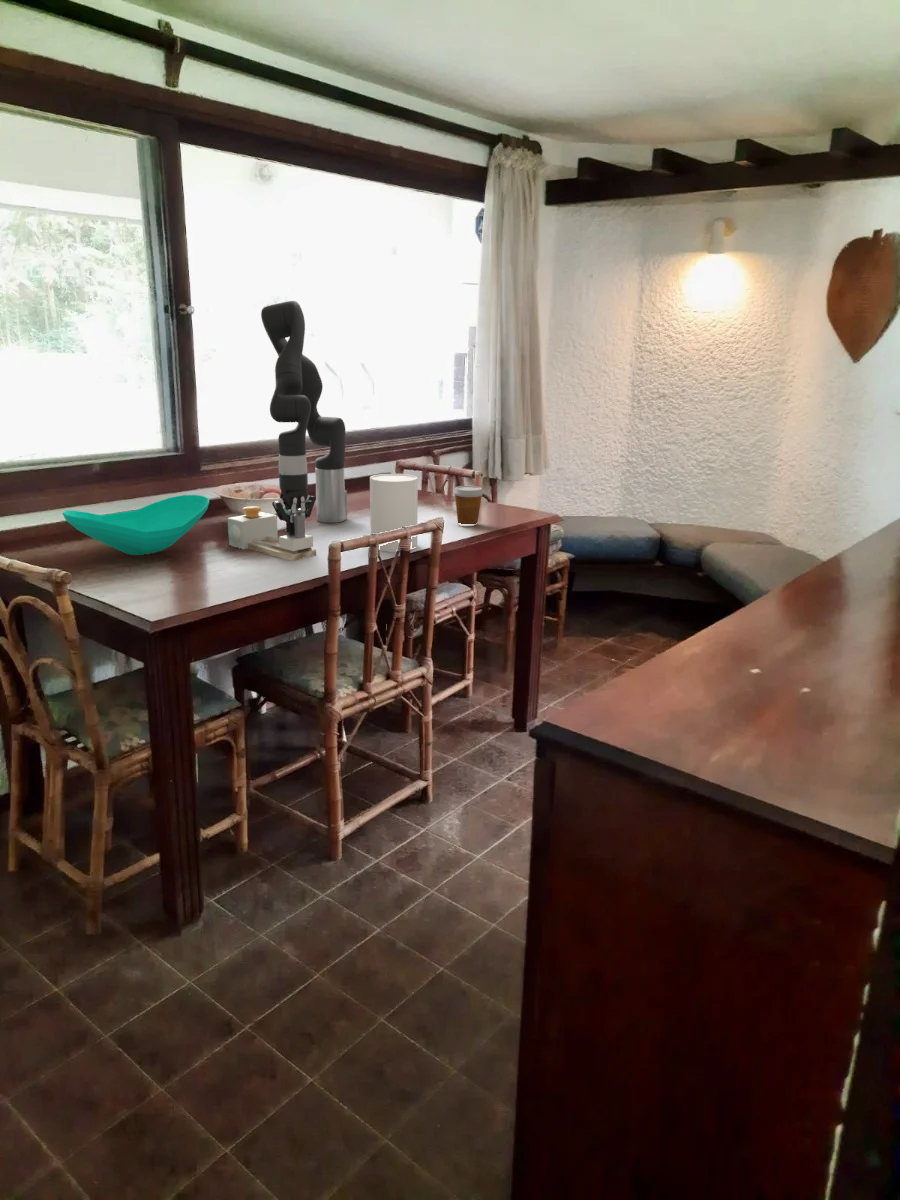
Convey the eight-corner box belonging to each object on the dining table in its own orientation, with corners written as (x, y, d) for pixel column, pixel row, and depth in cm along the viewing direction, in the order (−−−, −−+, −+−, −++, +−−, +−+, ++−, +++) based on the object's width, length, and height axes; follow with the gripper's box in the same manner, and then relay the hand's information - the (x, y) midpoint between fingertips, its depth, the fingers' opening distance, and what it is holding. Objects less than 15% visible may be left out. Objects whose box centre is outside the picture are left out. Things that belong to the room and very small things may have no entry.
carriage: (299, 543, 233) (298, 511, 230) (313, 546, 229) (312, 514, 227) (279, 547, 228) (277, 515, 225) (293, 551, 224) (291, 518, 222)
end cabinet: (263, 538, 248) (261, 511, 246) (278, 542, 244) (276, 515, 241) (228, 545, 239) (226, 518, 237) (242, 549, 235) (240, 522, 232)
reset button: (254, 517, 243) (253, 505, 242) (264, 520, 240) (264, 508, 239) (240, 520, 239) (239, 508, 238) (250, 522, 236) (249, 510, 235)
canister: (373, 539, 249) (372, 473, 243) (418, 541, 248) (419, 474, 242) (367, 551, 236) (367, 481, 230) (415, 552, 236) (415, 482, 229)
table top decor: (184, 532, 253) (180, 489, 249) (233, 549, 235) (230, 503, 231) (50, 554, 226) (43, 506, 222) (94, 575, 208) (88, 523, 204)
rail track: (273, 543, 243) (273, 535, 242) (316, 554, 231) (316, 546, 230) (248, 548, 236) (247, 540, 236) (290, 560, 224) (290, 552, 224)
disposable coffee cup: (448, 526, 268) (449, 489, 265) (459, 520, 277) (460, 484, 273) (476, 529, 265) (477, 491, 261) (486, 523, 273) (487, 487, 270)
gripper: (304, 467, 230) (306, 528, 235) (263, 472, 220) (266, 536, 225) (322, 470, 225) (324, 532, 230) (281, 476, 215) (284, 541, 220)
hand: (295, 534), depth 228 cm, fingers closed on carriage, 2 cm apart
